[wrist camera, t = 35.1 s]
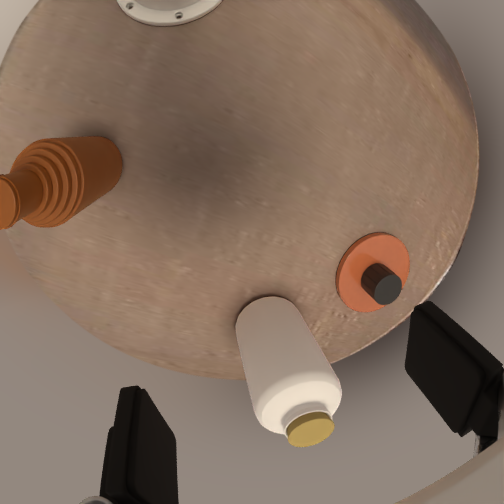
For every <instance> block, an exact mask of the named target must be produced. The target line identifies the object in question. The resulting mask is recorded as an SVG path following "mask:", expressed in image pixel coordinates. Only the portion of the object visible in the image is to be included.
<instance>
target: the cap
mask: <svg viewBox="0 0 504 504" xmlns="http://www.w3.org/2000/svg"><path fill="white" fill-rule="evenodd" d="M361 286H362V288H363V289H364V290H365V291H366V292H367V293H368V294H369V295H370V296H371V297H372V298H373V299H374V300H375V301H376V302H377V303H378V304H380V305H387V304H390V303H392V302H393V301H394V300H395V299H396V298H397V297H398V296H399V294H400V292H401V289H402V281H401V279H400V277H398V276H397V275H396V274H395V273H394V272H393V271H391V270H390V269H389V268H388V267H386V266H385V265H384V264H380V263H375V264H372V265H370V266H369V267H368V268H367V269H366V270H365V271H364V273H363V274H362V277H361Z"/></svg>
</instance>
